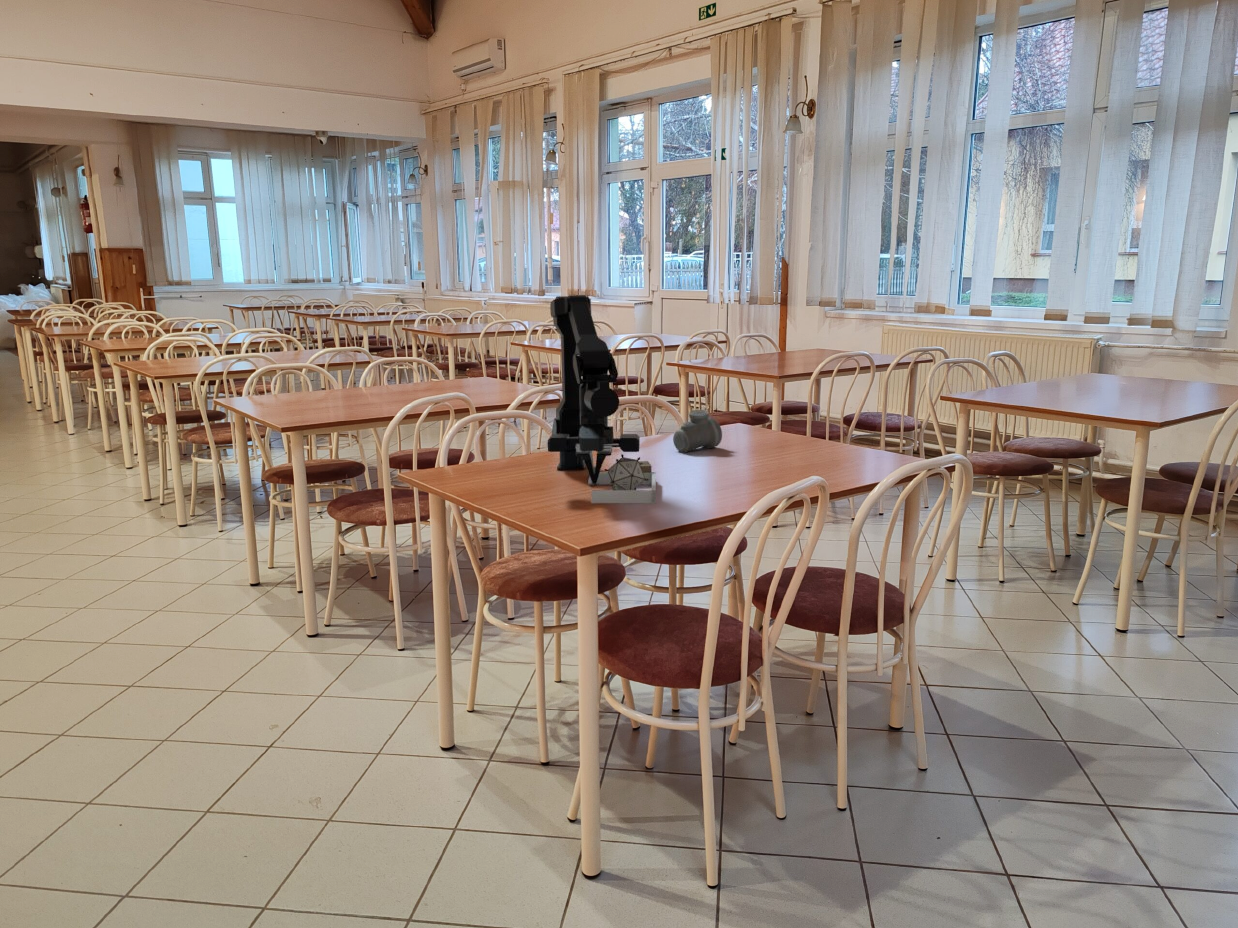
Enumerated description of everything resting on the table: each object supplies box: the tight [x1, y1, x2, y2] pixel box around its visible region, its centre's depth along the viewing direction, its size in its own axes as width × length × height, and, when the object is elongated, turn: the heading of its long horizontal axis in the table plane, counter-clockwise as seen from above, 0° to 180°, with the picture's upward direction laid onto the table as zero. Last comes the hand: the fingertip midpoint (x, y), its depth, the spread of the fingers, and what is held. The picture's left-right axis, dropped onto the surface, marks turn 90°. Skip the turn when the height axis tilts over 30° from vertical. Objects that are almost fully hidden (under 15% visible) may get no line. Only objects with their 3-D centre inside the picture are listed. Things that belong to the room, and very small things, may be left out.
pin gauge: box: [587, 466, 596, 487], centre depth 191 cm, size 8×2×2 cm, turn 178°
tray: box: [590, 471, 657, 504], centre depth 181 cm, size 17×13×2 cm
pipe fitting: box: [672, 409, 723, 453], centre depth 224 cm, size 12×8×10 cm
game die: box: [603, 453, 649, 490], centre depth 180 cm, size 9×8×10 cm
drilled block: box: [638, 460, 653, 473], centre depth 191 cm, size 5×5×4 cm
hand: (594, 483), depth 181 cm, fingers closed
